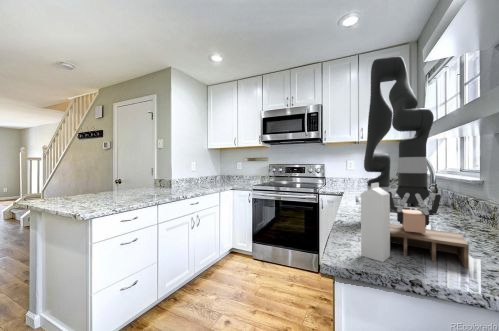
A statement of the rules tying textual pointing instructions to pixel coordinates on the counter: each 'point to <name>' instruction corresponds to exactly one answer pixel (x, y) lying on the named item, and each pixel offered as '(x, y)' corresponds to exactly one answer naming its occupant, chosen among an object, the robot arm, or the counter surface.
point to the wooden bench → (432, 242)
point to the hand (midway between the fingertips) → (412, 224)
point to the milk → (375, 223)
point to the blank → (413, 221)
